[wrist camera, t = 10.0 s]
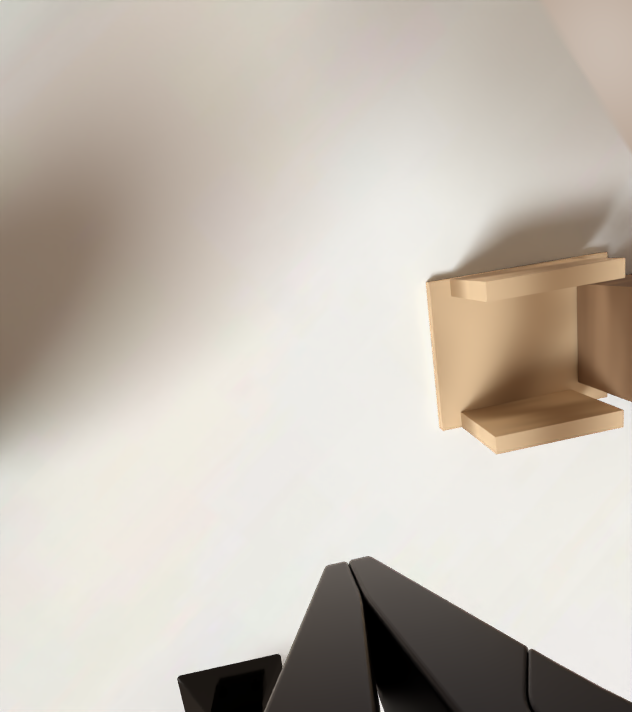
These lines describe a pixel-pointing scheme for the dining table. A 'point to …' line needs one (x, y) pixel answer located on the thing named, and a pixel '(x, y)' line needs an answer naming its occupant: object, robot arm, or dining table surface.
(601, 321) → the walnut block
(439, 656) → the robot arm
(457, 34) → the dining table surface
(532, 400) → the chute
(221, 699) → the black blocky device
